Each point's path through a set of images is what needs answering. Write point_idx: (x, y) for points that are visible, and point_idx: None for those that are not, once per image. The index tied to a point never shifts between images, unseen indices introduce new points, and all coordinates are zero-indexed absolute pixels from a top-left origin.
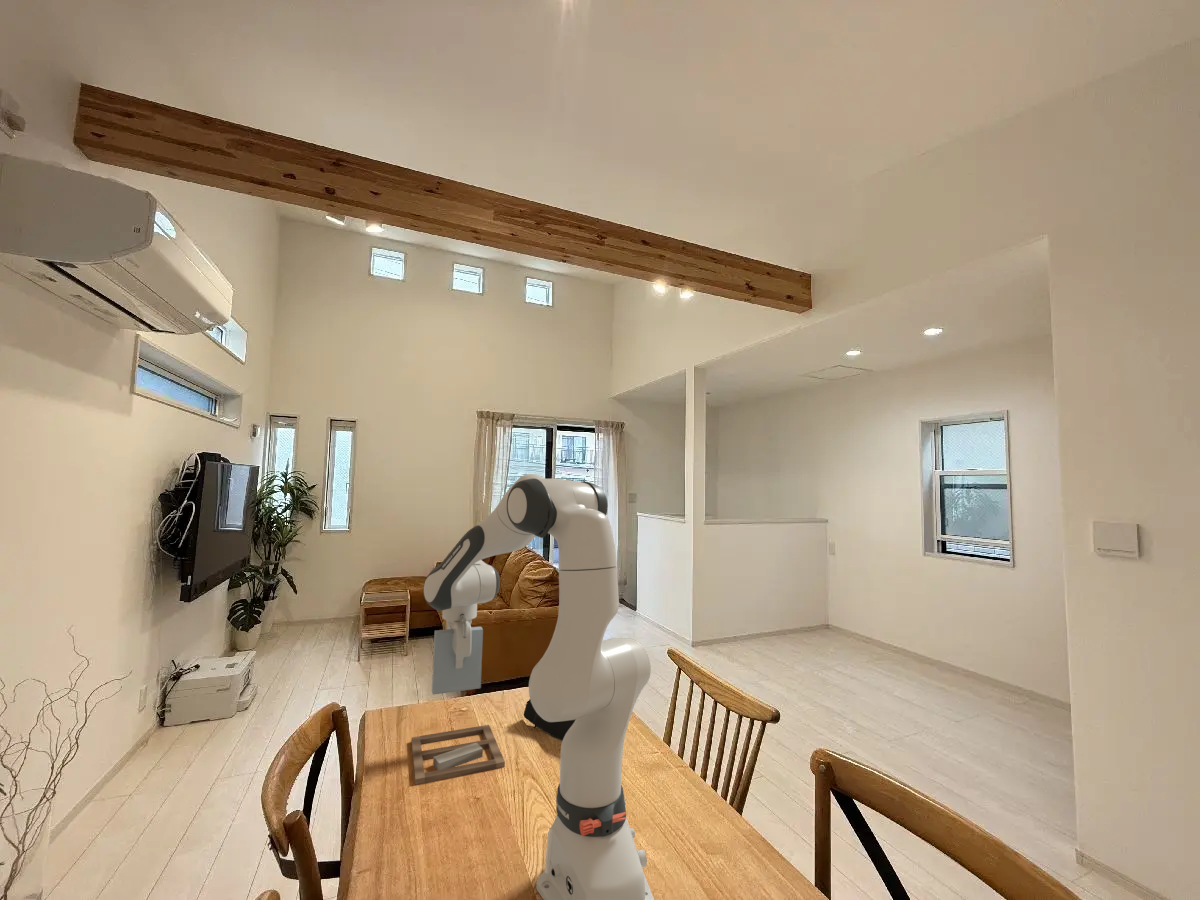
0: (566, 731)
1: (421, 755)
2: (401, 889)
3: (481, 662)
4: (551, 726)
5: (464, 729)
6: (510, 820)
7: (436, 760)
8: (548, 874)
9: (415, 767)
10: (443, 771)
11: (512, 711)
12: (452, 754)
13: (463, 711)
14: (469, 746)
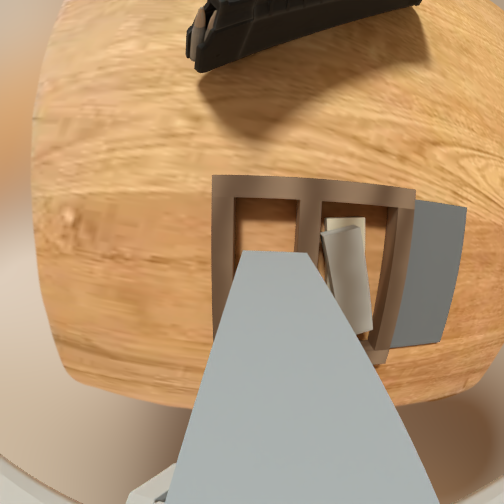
0: (337, 15)
1: None
2: (500, 348)
3: (341, 315)
4: (295, 29)
5: (215, 247)
6: (497, 224)
7: (357, 333)
8: None
9: None
10: (390, 319)
11: (119, 99)
12: (353, 301)
13: (80, 220)
14: (335, 257)
